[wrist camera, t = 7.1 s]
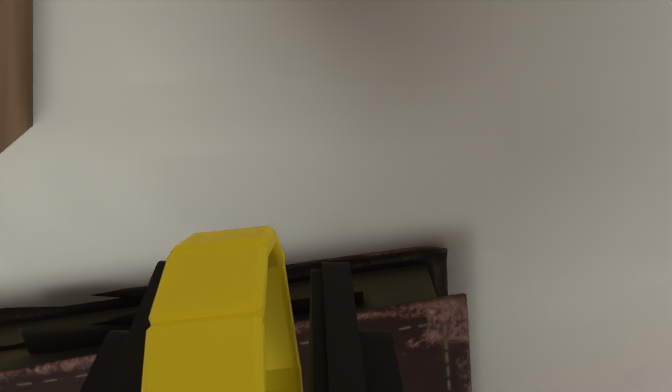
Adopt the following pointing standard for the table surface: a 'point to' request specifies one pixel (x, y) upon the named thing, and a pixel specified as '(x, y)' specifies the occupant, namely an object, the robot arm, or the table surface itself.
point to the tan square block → (15, 70)
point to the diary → (371, 308)
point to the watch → (223, 317)
